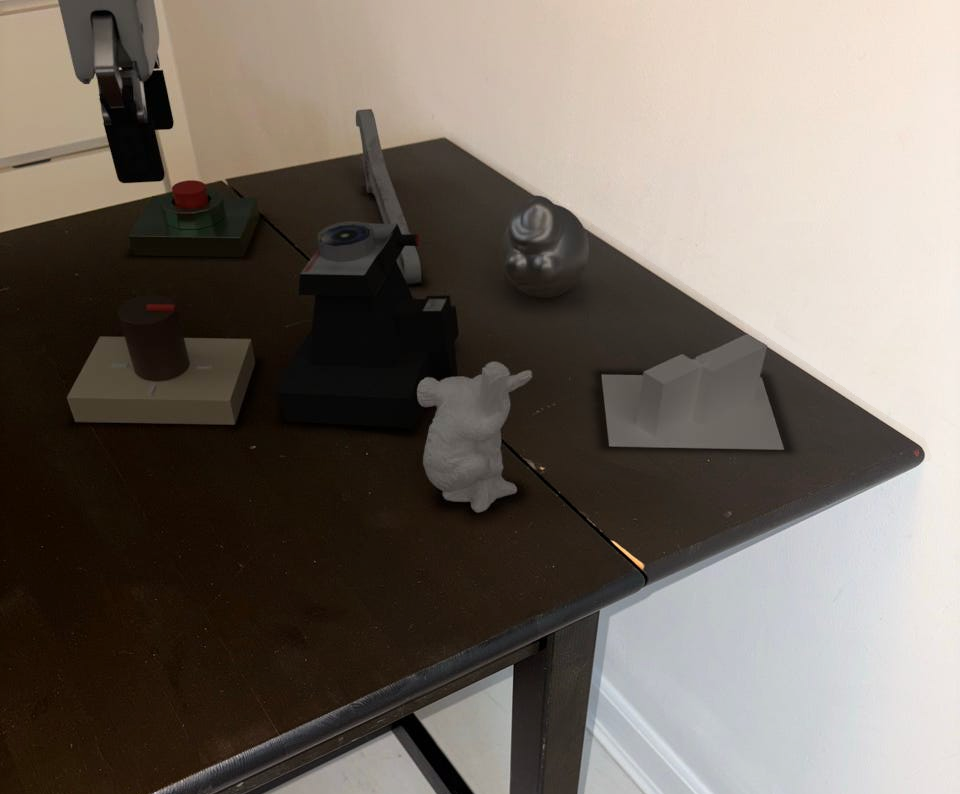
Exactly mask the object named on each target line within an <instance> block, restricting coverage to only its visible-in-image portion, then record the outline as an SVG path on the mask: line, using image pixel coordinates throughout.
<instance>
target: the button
mask: <svg viewBox="0 0 960 794" xmlns="http://www.w3.org/2000/svg"><path fill="white" fill-rule="evenodd" d="M206 188H207V186H206V184H205V182H203V181H201V180H194V179H192V180H191V179H189V180H183V181H179V182H177V183H174V184H173V185H172V187H171V192H172V193H173V197H174V202H175V206H177V207H180V208H196V207H201V206H203V205H205V204H207V203H209V200H208V195H207V190H206Z"/></svg>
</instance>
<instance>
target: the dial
mask: <svg viewBox="0 0 960 794" xmlns="http://www.w3.org/2000/svg"><path fill="white" fill-rule="evenodd" d="M117 314H118V320H119V323H120V326H121V329H122V333H123V337H125V340H126V343H127V347H128V350H129V354H130V357H131V361H132V364H133V368H134V371H135V373H136V375H137V376H139V377H140V378H142V379H145V380H149V381H164V380H169V379H173V378H175V377H178V376H180V375H181V374H183V373H184V372H185V371H186V370H187V369H188V367H189V364H190V362H189V357H188V353H187V349H186V345H185V340H184V338H185V336H184V333H183V328H182V324H181V319H180V315H179V312H178V307H177V304H176V302H175V301H174V300H173V299H171V298H169V297H167V296H164V295H163V296H162V295H154V294H153V295H151V294H150V295H143V296H138V297H134V298H132V299H129V300H128V301H125V302H124V303H123V304H122V305H121V306H120V307H119V309H118V312H117Z"/></svg>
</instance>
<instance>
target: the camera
mask: <svg viewBox="0 0 960 794" xmlns="http://www.w3.org/2000/svg"><path fill="white" fill-rule="evenodd" d="M316 242H317V246H318V249H317V250H316V251H315V252H314V254H313V255H312V257H311V258H310V259H309V261H308V262H307V264H306V265H304V267H303V269H302V271H301V272H300V273H299V283H298V295H299V296H314V305H313V314H312V324H311V328H310V330H309V332H308V333H307V335H306V336H305V338H304V340H303V341H302V343H301V344H300V345H299V347H298V349H297V350H296V351H295V353H294V354H293V356H292V357H291V359H290V360H289V362H288V364H287V366H286V369H285V370H284V371H285V372H284V373H283V377H282V379H281V381H280V385H279V387H278V390H277V393H276V394H277V396H278V401H279V404H280V409H281V411H282V416H283V419H284V422H292V423H310V424H311V423H312V424H330V425H346V426H347V425H349V426H364V427H365V426H366V427H367V426H368V427H382V428H383V427H384V428H385V427H386V428H400V429H401V428H405V429H416V428H417V427H418V424H419V422H420V419H421V417H422V415H423V413H424V410H425V408H426V407H424V406H421V405H420V403H419V402H418V398H417V388H418V384H419V383H420V382H421V380H424V378H426V377H429V378H434V379H436V380H437V381H441V380H443V379H445V378H449V377H457V376H459V374H458V365H457V357H456V356H457V355H456V345H455V344H456V341H457V339H458V337H459V335H460V332H459V323H458V313H457V306H456V305H452V300H451V295H450V294H449V295H426V297H425V298H414V296H413V294H412V292H411V289H410V287H409V284H407V282H406V280H405V278H404V276H403V274H402V272H401V270H400V268H399V266H398V264H397V261H396V260H397V258H398V257H399V255H400V253H401V252H402V250H403V248H404V247H405V246H415V247H418V246H419V242H420V239H419V235H418V234H417V233H415V234H412V233H410V234H402V233H401V231H400V229H399V226H398V224H386V223H384V222H383V223H382V222H381V223H372V222H363V221H355V220H351V221H349V220H348V221H341V222H337V223H334V224H330V225H328V226H325V227H323V229H321V230H320V231H319V232H317V237H316Z"/></svg>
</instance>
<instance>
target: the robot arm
mask: <svg viewBox="0 0 960 794" xmlns="http://www.w3.org/2000/svg"><path fill="white" fill-rule="evenodd" d="M57 2H58V6H59V10H60V16H61V20H62V24H63V29H64V33H65V36H66V40H67V45H68V49H69V53H70V58H71V62H72V66H73V70H74V75H75V77H76V79H77V80H78V82H81V83H82V84H83V85H90V83H91V81H92V80H94V78H95V77H96V80H97V81H96V82H97V88H98V96H99V103H100V110H101V116H102V121H103V122H102V124H103V127H104V131H105V137H106V139H107V143H108V147H109V151H110V154H111V158H112V159H111V160H112V163H113V166H114V170H115V173H116V178H117V180H118V181H119V182H120V183H121V184H138V183H156V182H157V183H158V182H162V181H164V180H165V174H166V173H165V167H164V164H163V160H162V159H163V158H162V155H161V150H160V146H159V142H158V136H157V133H156V131H166V130H171V129H173V127H174V123H175V121H174V117H173V112H172V107H171V103H170V97H169V92H168V88H167V84H166V77H165V73H164V70H163V69H161V63H160V55H159V53H158V52H159V48H160V30H159V23H158V22H159V21H158V16H157V11H156V5H155V0H57ZM120 68H121V69H120Z"/></svg>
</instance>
